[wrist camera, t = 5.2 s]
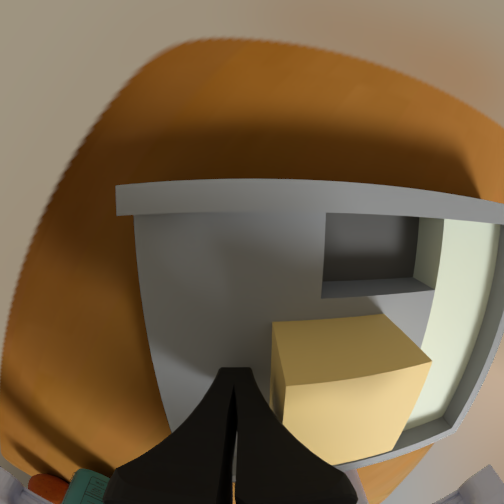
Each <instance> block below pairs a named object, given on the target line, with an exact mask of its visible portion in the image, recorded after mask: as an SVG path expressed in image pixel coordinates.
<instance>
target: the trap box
mask: <svg viewBox="0 0 504 504" xmlns="http://www.w3.org/2000/svg"><path fill="white" fill-rule="evenodd" d="M116 215H117V216H122V215H134V232H135V245H136V257H137V267H138V276H139V284H140V292H141V299H142V306H143V313H144V319H145V325H146V330H147V336H148V341H149V346H150V351H151V356H152V361H153V365H154V370H155V374H156V378H157V383H158V387H159V391H160V394H161V398H162V402H163V406H164V409H165V413H166V416H167V419H168V423H169V426H170V429H171V433H173V432H174V431H175V430H176V429H177V428H178V427H179V426H180V425H181V424H182V423H183V422H184V421H185V420H186V419H187V418H188V416H189V415H190V414H191V413H192V412H193V410H194V409H195V408H196V407H197V405H198V404H199V403H200V401H201V400H202V399H203V397H204V395H205V394H206V392H207V391H208V389H209V388H210V386H211V384H212V383H213V381H214V379H215V377H216V375H217V373H218V370H219V369H220V368H221V367H250V368H251V369H252V372H253V375H254V378H255V381H256V383H257V385H258V387H259V389H260V391H261V393H262V395H263V397H264V398H265V400H266V402H267V403H268V405H269V401H270V378H271V350H272V322H279V321H301V320H318V319H332V318H345V317H356V316H366V315H376V314H385V315H386V316H387V317H388V318H389V319H390V320H391V321H392V322H393V323H394V324H395V325H396V326H397V327H399V328H400V329H401V330H402V331H403V332H404V333H405V334H406V335H407V336H408V337H409V338H410V339H411V340H412V341H413V342H414V343H415V344H416V345H417V346H418V347H419V348H420V349H421V350H422V351H423V352H424V353H425V354H426V355H427V356H428V357H429V358H430V359H431V360H432V361H433V362H432V365H431V367H430V370H429V373H428V375H427V378H426V381H425V383H424V386H423V388H422V390H421V393H420V395H419V397H418V400H417V402H416V404H415V406H414V409H413V411H412V413H411V415H410V417H409V419H408V421H407V423H406V425H405V427H404V429H403V431H402V433H401V435H400V436H399V438H398V440H397V442H396V444H395V445H394V447H393V449H392V450H391V451H388V452H385V453H381V454H378V455H374V456H371V457H367V458H363V459H359V460H355V461H351V462H346V463H341V464H336V465H332V466H333V467H335V468H337V469H339V470H340V471H342V472H343V471H348V470H352V469H357V468H361V467H364V466H368V465H372V464H375V463H379V462H382V461H385V460H389V459H392V458H395V457H398V456H401V455H403V454H406V453H409V452H412V451H414V450H417V449H419V448H422V447H424V446H427V445H429V444H431V443H434V442H436V441H438V440H440V439H443V438H445V437H447V436H449V435H451V434H453V433H455V432H456V430H457V429H458V427H459V426H460V424H461V422H462V421H463V419H464V417H465V416H466V414H467V412H468V410H469V409H470V407H471V405H472V403H473V401H474V400H475V398H476V396H477V394H478V392H479V390H480V388H481V386H482V384H483V382H484V380H485V378H486V375H487V373H488V371H489V369H490V366H491V364H492V362H493V359H494V357H495V354H496V352H497V349H498V347H499V344H500V341H501V338H502V335H503V333H504V204H501V203H497V202H492V201H487V200H482V199H477V198H472V197H466V196H460V195H455V194H448V193H442V192H435V191H428V190H421V189H413V188H405V187H396V186H387V185H377V184H366V183H354V182H339V181H322V180H299V179H204V180H181V181H163V182H149V183H137V184H126V185H116ZM236 460H237V435H236V443H235V451H234V460H233V476H232V482H235V481H236Z"/></svg>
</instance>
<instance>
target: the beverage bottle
mask: <svg viewBox="0 0 504 504" xmlns="http://www.w3.org/2000/svg"><path fill="white" fill-rule="evenodd" d="M74 473H75V474H74V476H73V475H72V476H73V479H72V477H71V479H72V480H71V479H70V481H71V483H70V482H69V483H70V485H69V483H68V486H69V487H68V486H67V487H68V488H67V489H68V490H67V492H66V491H65V493H66V494H65V497H63V498H64V499H63V501H61V502H62V504H104V503H103V502H102V498H103V495H104V492H105V490H106V487H107V484H108V482H109V480H110V478H108V477H106V476H104V475H102V474H100V473H97V472H95V471H92V470H88V469H79V470H77V471H76V472H74ZM63 496H64V495H63ZM61 502H60V504H61Z"/></svg>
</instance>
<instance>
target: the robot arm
mask: <svg viewBox="0 0 504 504" xmlns="http://www.w3.org/2000/svg"><path fill="white" fill-rule="evenodd" d="M236 435H237V460H236V481H235V501H236V504H369V503H368V500H367V497H366V495H365V492H364V489H363V486H362V484H361V481H360V478H359V475H358V473H357V470H356V469H352V470H348V471H343V472H342V471H340V470H339V469H337V468H335V467H333V466H332V465H330V464H329V463H327V462H325V461H324V460H322V459H321V458H320V457H318V456H317V455H315V454H314V453H313V452H312V451H310V450H309V449H308V448H307V447H306V446H304V445H303V444H302V443H301V442H300V441H299V440H297V439H296V438H295V437H294V436H293V435H292V434H291V433H290V432H289V431H288V429H287V428H286V427H285V426H284V425H283V424H282V423H281V421H280V420H279V419H278V418H277V416H276V415H275V414H274V412H273V411H272V409H271V408H270V406H269V405H268V403H267V402H266V400H265V398H264V397H263V395H262V393H261V391H260V389H259V387H258V385H257V383H256V381H255V378H254V375H253V372H252V369H251V368H250V367H221V368H220V369H219V370H218V373H217V375H216V377H215V379H214V381H213V383H212V384H211V386H210V388H209V389H208V391H207V392H206V394H205V395H204V397H203V399H202V400H201V401H200V403H199V404H198V405H197V407H196V408H195V409H194V410H193V412H192V413H191V414H190V415H189V416H188V418H187V419H186V420H185V421H184V422H183V423H182V424H181V425H180V426H179V427H178V428H177V429H176V430H175V431H174V432H173V433H171V434H170V435H169V436H168V437H167V438H166V439H164V440H163V441H162V442H161V443H159V444H158V445H156V446H155V447H153V448H152V449H151V450H149V451H148V452H146V453H145V454H143V455H141V456H140V457H138V458H136V459H134V460H132V461H130V462H128V463H126V464H124V465H122V466H120V467H118V468H116V469H115V471H114V473H113V475H112V476H111V478H110V480H109V482H108V484H107V487H106V490H105V492H104V495H103V498H102V502H103V503H104V504H233V491H232V476H233V460H234V451H235V443H236ZM0 504H54V503H52V502H50V501H48V500H46V499H44V498H42V497H41V496H39V495H37V494H35V493H34V492H32V491H30V490H29V489H27V488H25V487H24V486H23V485H22V483H21V482H20V481H19V480H18V479H16V478H15V477H14V476H13V475H12V474H10V473H9V472H8V471H6V470H5V469H3V468H2V467H1V466H0ZM433 504H504V483H503V482H502V480H501V479H500V477H499V476H498V475H497V473H496V472H495V470H494V469H493V468H492V466H491V465H487V466H486V467H484V468H483V469H482V470H480V471H479V472H477V473H476V474H474V475H473V476H471V477H470V478H469V479H468V480H466V481H465V482H464V483H463V484H462V485H461V486H460V487H459V489H458V490H456V491H454V492H453V493H451V494H449V495H448V496H446V497H444V498H442V499H440V500H438V501H437V502H435V503H433Z"/></svg>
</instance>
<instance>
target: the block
mask: <svg viewBox="0 0 504 504" xmlns="http://www.w3.org/2000/svg"><path fill="white" fill-rule="evenodd" d="M432 362H433V361H432V360H431V359H430V358H429V357H428V356H427V355H426V354H425V353H424V352H423V351H422V350H421V349H420V348H419V347H418V346H417V345H416V344H415V343H414V342H413V341H412V340H411V339H410V338H409V337H408V336H407V335H406V334H405V333H404V332H403V331H402V330H401V329H400V328H399V327H397V326H396V325H395V324H394V323H393V322H392V321H391V320H390V319H389V318H388V317H387V316H386V315H385V314H376V315H366V316H356V317H345V318H332V319H318V320H301V321H279V322H272V350H271V378H270V401H269V406H270V408H271V409H272V411H273V412H274V414H275V415H276V416H277V418H278V419H279V420H280V421H281V423H282V424H283V425H284V426H285V427H286V428H287V429H288V431H289V432H290V433H291V434H292V435H293V436H294V437H295V438H296V439H297V440H299V441H300V442H301V443H302V444H303V445H304V446H306V447H307V448H308V449H309V450H310V451H312V452H313V453H314V454H315V455H317V456H318V457H320V458H321V459H322V460H324V461H325V462H327V463H329V464H330V465H336V464H341V463H346V462H351V461H355V460H359V459H363V458H367V457H371V456H374V455H378V454H381V453H385V452H388V451H391V450H392V449H393V447H394V445H395V444H396V442H397V440H398V438H399V436H400V435H401V433H402V431H403V429H404V427H405V425H406V423H407V421H408V419H409V417H410V415H411V413H412V411H413V409H414V406H415V404H416V402H417V400H418V397H419V395H420V393H421V390H422V388H423V386H424V383H425V381H426V378H427V375H428V373H429V370H430V367H431V365H432Z"/></svg>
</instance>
